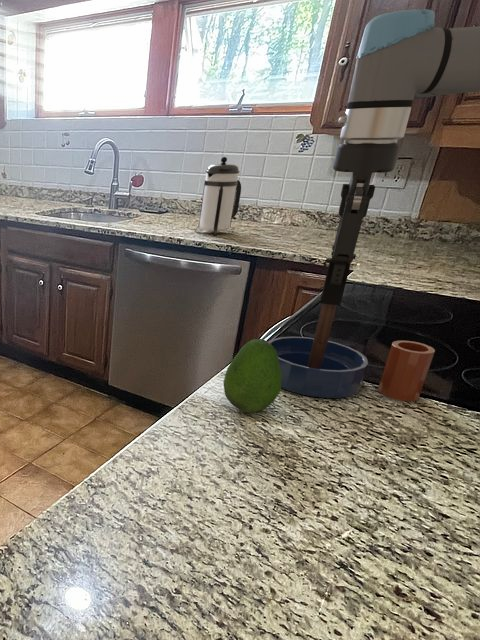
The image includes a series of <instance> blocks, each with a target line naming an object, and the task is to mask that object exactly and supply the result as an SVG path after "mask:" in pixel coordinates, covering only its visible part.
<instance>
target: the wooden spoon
mask: <svg viewBox="0 0 480 640" xmlns="http://www.w3.org/2000/svg"><path fill="white" fill-rule="evenodd" d="M337 306H338V305H330V304H322V303H321V306H320V312H319V316H318V320H317V324H316V328H315V332H314V337H313V338H314V340H313V345H312V349H311V353H310V357H309V361H308V366H307V367H310V368H317V369H321V366H322V362H323V358H324V354H325V350H326V346H327V342H328V341H329V339H330V334H331V330H332V327H333V326H332V325H333V321H334V319H335V313H336V309H337Z"/></svg>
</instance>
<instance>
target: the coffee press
mask: <svg viewBox="0 0 480 640" xmlns="http://www.w3.org/2000/svg"><path fill="white" fill-rule="evenodd" d="M220 161H221V163H212V164H210V165H209V166H207V169H206V170H205V180H204V183H203V189H202V198H201V206H200V212H199V220H198V225H197V227H196V228H195V229H194V232H195V233H196V234H197V233H200V232H201V231H205V232H212V236H213V237H217V234H218V232H228V231H229V229H230V230H231V232H229V234H230V235H232V234H233V232H234V231H233V229H232V220H233V218H235V217H236V215H237V214H238V210H239V207H240V206H239V205H240V200H241V193H242V182H241V181H240V180H239V179H238V178H239V174H240V169H239V167H238V166H237V165H236V164H234V163H227V161H228V158H227V156H223V157H221V159H220ZM198 228H199V230H197V229H198ZM196 230H197V231H196Z"/></svg>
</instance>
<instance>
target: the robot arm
mask: <svg viewBox="0 0 480 640" xmlns="http://www.w3.org/2000/svg"><path fill="white" fill-rule="evenodd" d="M435 19H436V13H435V11H433V10H432V9H425V8H424V9H417V8H416V9H405V10H404V9H403V10H396V11H391V12H386V13H382V14H379V15H377V16H374V17H373V18H371V19H370V20H369V21H368V23H366V25H365V28H364V30H363V33H362V37H361V42H360V44H359V48H358V52H357V54H356V56H355V60H356V61H355V66H354V71H353V76H352V80H351V85H350V91H349V96H348V99H347V104H346V110H345V114H346V115H345V116H340V117H339V118H338V120H337V123H338V125H343V126H342V127H341V130H340V136H339V138H340V140H343V143H340V144H339V145H338V146H336V150H335V151H336V152H335V156H334V160H333V164H332V169H333V170H334V171H335V172H342V173H351V175H350V180H349V183H343V184H342V186H341V192H340V197H341V199H340V204H339V208H338V216H339V221H338V224H337V225H338V226H337V229H336V234H335V238H334V243H333V245H331V246H332V247H331V250H332V251H331V253H330V255H331V257H330V258H328V257H327V258H325V263H326V264H328V266H327V269H326V274H325V279H324V283H323V287H322V291H321V296H320V304H321V305H322V304H330V305H337V306H339V307H341V304H342V300H343V296H344V292H345V289H346V284H347V281H348V277H349V273H350V268H351V264H352V263H353V261H354V260H356V258H357V254H356V253H355V250H356V248H357V247H356V246H357V242H358V239H359V235H360V231H361V227H362V223H363V219H364V218H365V217H366V216H367V214H368V209H369V206H370V202H371V199H373V197H374V194H375V191H376V186H375V184H371V179H372V175H373V174H374V173H379V174H383V173H391V172H392V171H394V170H395V169H396V166H397V161H398V157H399V154H400V150H401V146H400V143H398V141H399V140H401V139H402V138H404V137H405V134H406V129H407V126H408V122H409V119H410V115H411V110H412V106H413V102H414V99H416V100H417V99H418V100H423V99H428V98H431V97H432V98H433V97H437V96H438V97H439V96H448V95H457V94H466V93H480V25H476V26H475V25H474V26H463V27H461V26H460V27H451V28H448V27H435V25H436V23H435Z"/></svg>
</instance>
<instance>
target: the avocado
mask: <svg viewBox="0 0 480 640" xmlns="http://www.w3.org/2000/svg"><path fill="white" fill-rule="evenodd" d="M281 380H282V375H281V369H280V364H279V359H278V355H277V352H276V350H275V349H274V347H273V346H272V345H271V344H270V343H269V341H267V340H266V339H263V338H252V339H251V340H249V341H247V342H246V343H245V344H244V345H243V346H241V348H240V350H239V351H238V352H237V354H236V355H235V356H234V358H233V359H232V360H231V362H230V363H229V365H228V366H227V369H226V371H225V374H224V378H223V391H224V392H223V393H224V395H225V398H226V399H227V401H228V402H229V403H230V404H231V405H232V406H233V407H234V408H236V409H237V410H239V411H240V412H245V413H256V412H261V411H264V410H265V409H267V408H269V406H270V405H272V404H273V403H274V402H275V401H276V399H277V397H278V396H279V394H280V393H281V391H282V388H281Z"/></svg>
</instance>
